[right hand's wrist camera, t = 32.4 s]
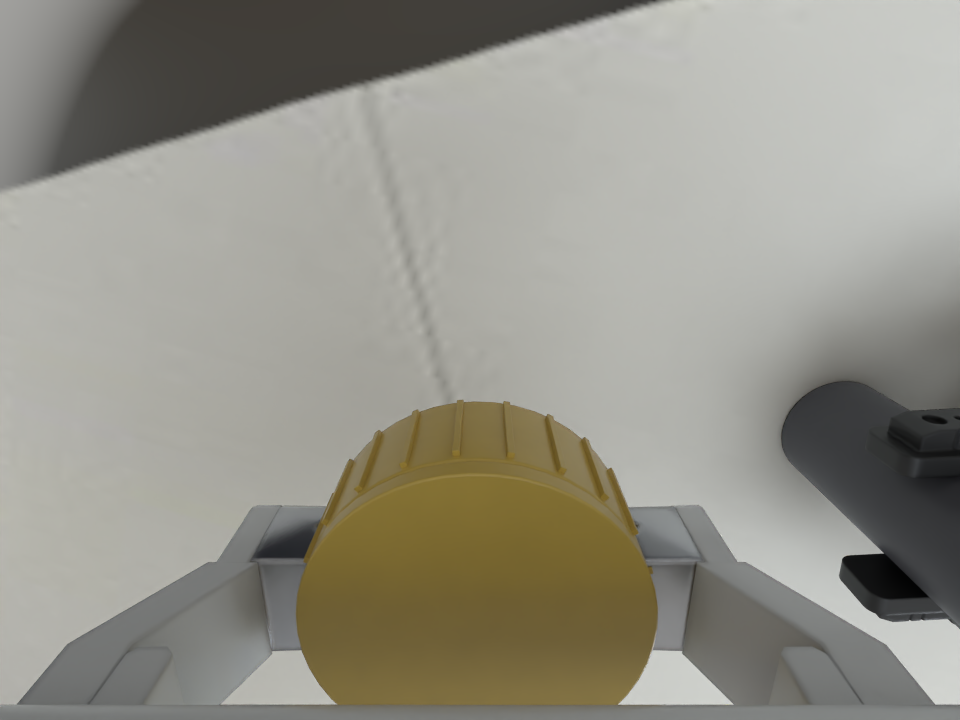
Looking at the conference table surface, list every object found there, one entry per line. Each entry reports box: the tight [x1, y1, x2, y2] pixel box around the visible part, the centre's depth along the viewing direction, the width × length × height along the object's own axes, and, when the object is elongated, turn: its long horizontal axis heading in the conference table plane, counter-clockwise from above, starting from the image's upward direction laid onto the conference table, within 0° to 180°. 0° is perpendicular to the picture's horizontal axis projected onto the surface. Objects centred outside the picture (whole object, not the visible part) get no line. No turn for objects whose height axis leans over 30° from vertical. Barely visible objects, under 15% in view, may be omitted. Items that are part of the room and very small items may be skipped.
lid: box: [296, 400, 658, 705], centre depth 10 cm, size 6×6×2 cm
